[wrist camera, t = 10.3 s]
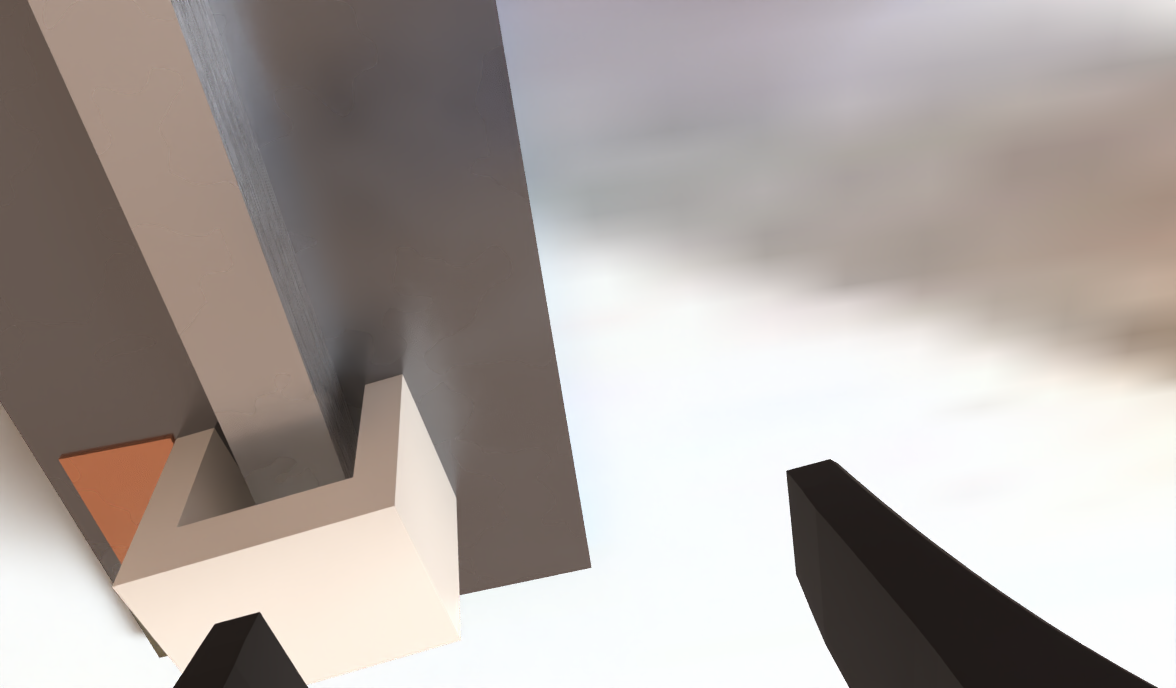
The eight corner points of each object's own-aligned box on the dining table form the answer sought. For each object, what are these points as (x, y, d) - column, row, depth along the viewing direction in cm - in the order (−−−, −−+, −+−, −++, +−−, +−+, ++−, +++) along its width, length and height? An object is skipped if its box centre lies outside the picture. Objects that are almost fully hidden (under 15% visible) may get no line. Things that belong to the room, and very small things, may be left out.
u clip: (402, 374, 19) (394, 506, 15) (456, 497, 21) (461, 639, 17) (176, 438, 19) (112, 587, 15) (253, 555, 21) (213, 712, 17)
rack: (463, -183, 14) (468, -188, 12) (586, 547, 24) (604, 624, 22) (-260, -81, 14) (-407, -65, 11) (167, 633, 23) (137, 723, 21)
